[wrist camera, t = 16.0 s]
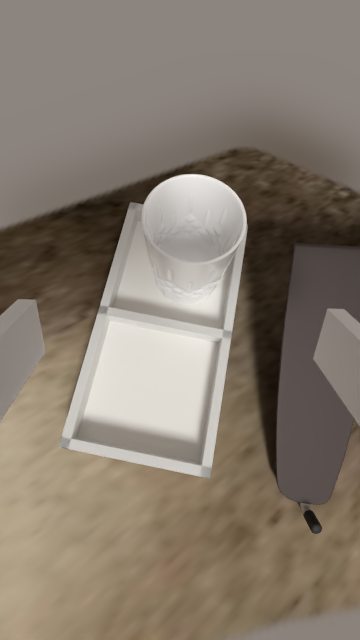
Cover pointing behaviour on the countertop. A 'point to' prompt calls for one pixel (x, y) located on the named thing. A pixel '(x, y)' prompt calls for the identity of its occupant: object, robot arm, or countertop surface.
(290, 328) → the portable electronic device stand
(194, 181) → the white cup
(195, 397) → the white divided tray
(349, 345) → the robot arm
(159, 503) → the countertop surface
